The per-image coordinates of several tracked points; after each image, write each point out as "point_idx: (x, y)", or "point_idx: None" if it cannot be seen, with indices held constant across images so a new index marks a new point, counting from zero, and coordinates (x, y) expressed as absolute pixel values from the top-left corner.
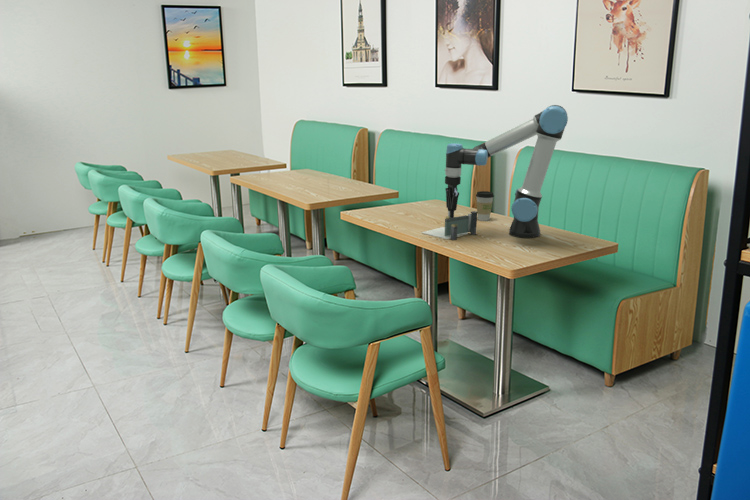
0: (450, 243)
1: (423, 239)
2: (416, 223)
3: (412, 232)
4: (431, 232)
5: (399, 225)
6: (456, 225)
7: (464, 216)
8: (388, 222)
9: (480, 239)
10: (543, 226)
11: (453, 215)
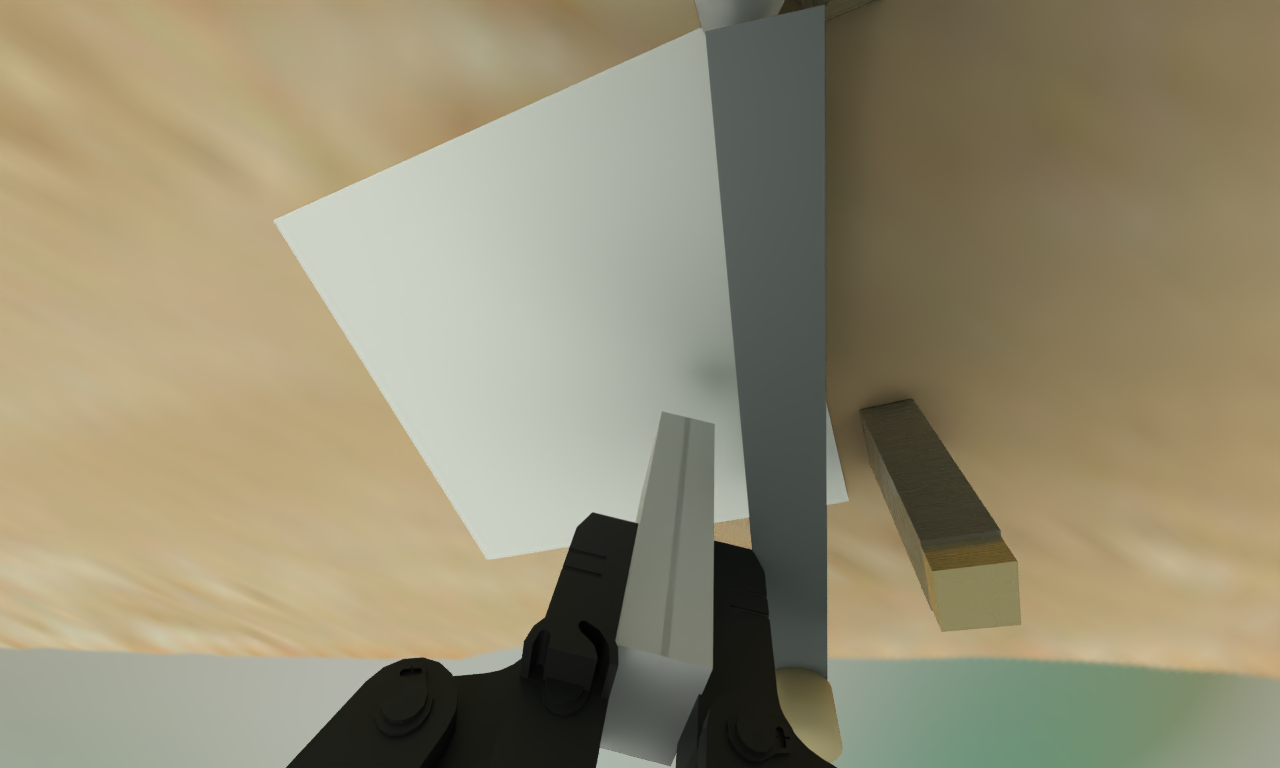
0: None
1: None
2: (82, 389)
3: (445, 590)
4: (519, 488)
5: (183, 550)
6: (1009, 567)
7: (822, 236)
8: (81, 563)
9: (1205, 43)
10: None
11: (765, 598)
